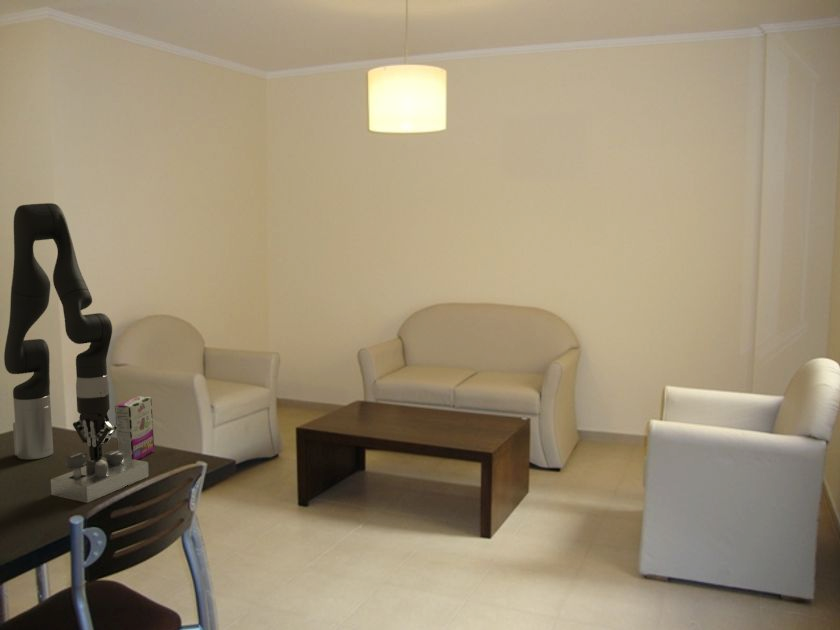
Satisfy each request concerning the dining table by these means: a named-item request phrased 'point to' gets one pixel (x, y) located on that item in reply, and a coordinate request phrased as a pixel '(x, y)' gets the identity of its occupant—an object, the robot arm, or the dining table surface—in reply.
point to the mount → (99, 481)
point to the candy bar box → (135, 427)
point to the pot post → (101, 469)
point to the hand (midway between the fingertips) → (96, 459)
